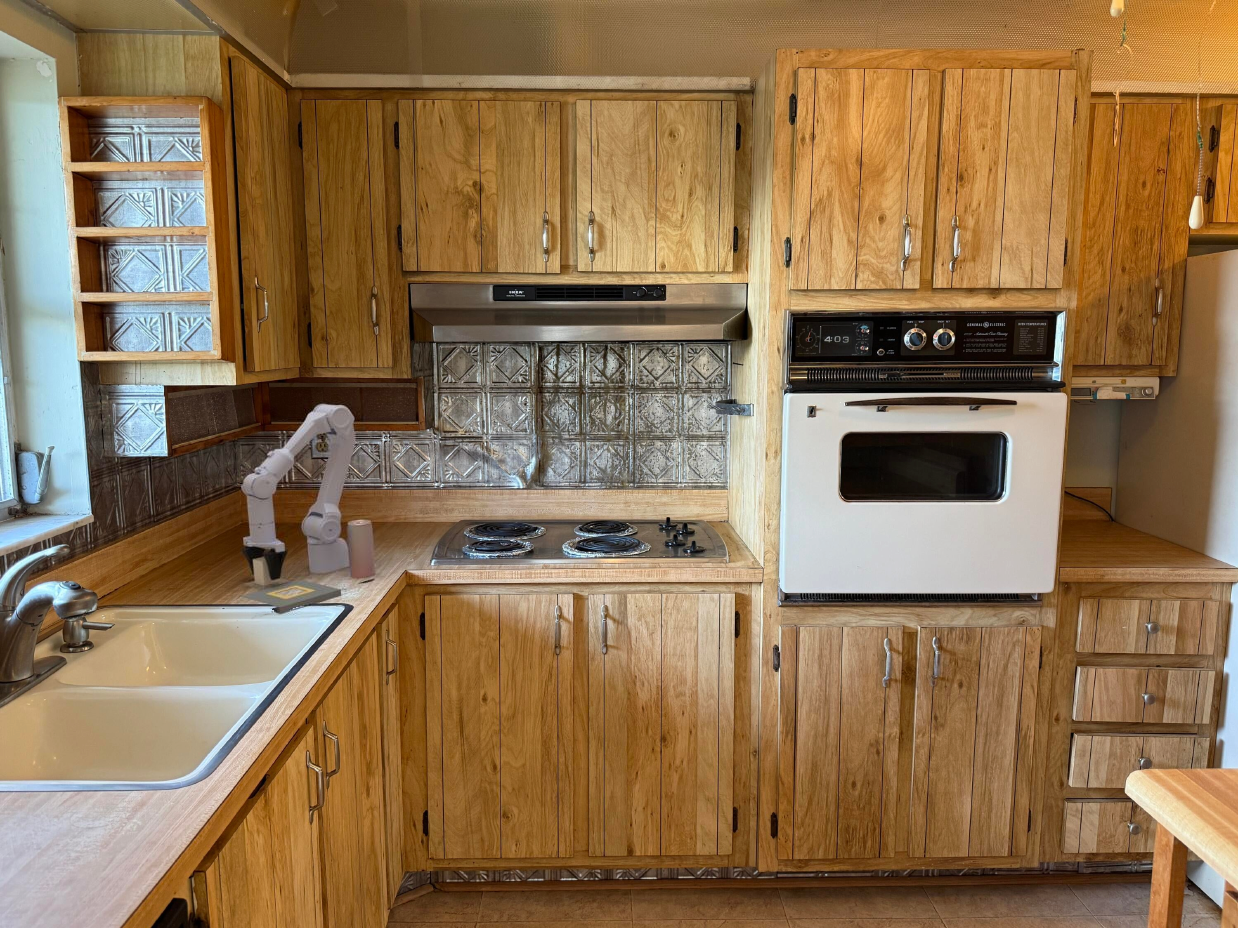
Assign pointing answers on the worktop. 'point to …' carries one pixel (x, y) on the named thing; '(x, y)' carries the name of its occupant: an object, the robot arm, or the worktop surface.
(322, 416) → the robot arm
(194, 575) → the worktop surface
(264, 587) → the tab
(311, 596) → the hole board
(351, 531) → the beverage can
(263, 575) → the peg
